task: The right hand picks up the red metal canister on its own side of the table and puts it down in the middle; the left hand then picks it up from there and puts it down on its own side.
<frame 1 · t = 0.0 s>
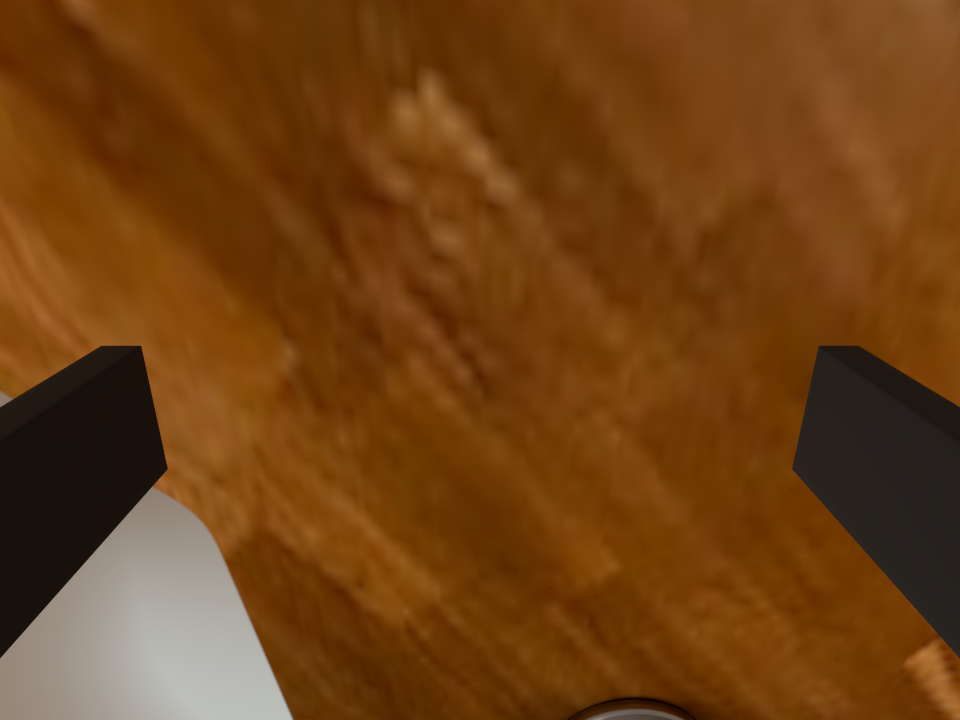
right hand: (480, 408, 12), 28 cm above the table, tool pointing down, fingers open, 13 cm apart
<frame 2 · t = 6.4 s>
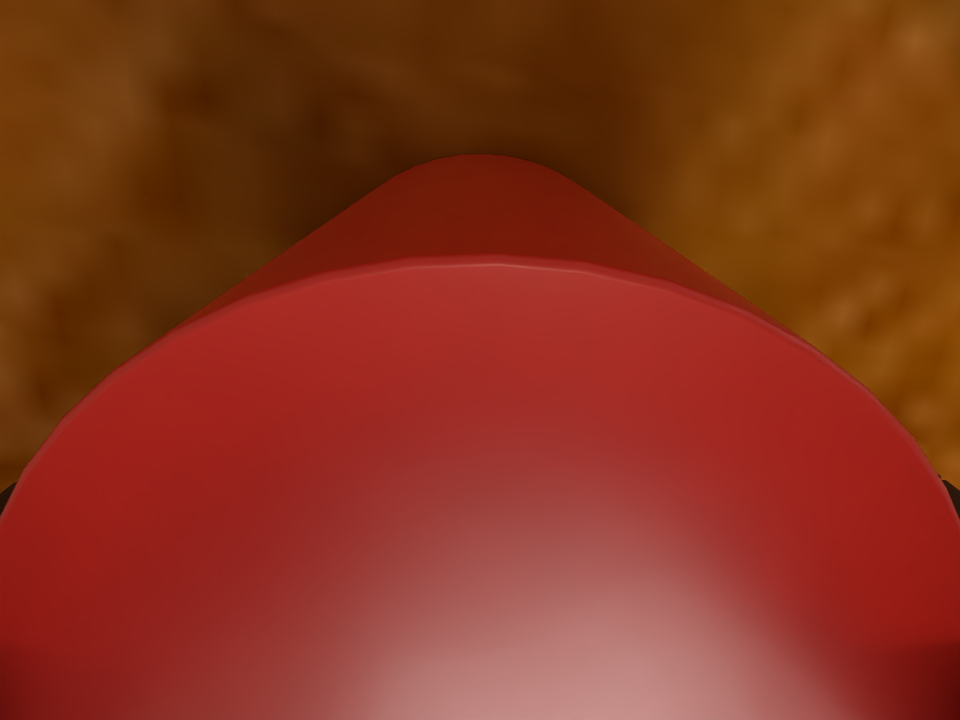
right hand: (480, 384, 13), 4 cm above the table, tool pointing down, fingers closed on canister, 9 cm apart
canister: (479, 328, 17), on the table, touching right hand
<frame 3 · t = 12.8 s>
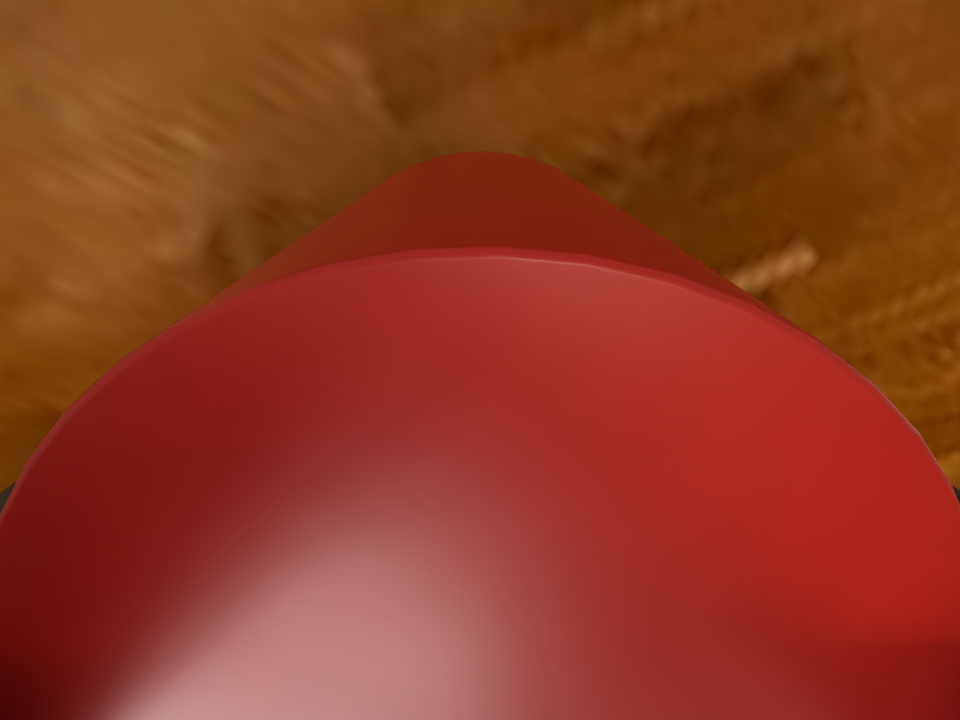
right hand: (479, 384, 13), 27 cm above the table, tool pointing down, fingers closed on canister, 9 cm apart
canister: (480, 326, 17), point 23 cm above the table, touching right hand
when the right hand's fingers open (6 cm above the table, at t = 19.4 s): canister drops 2 cm, on the table.
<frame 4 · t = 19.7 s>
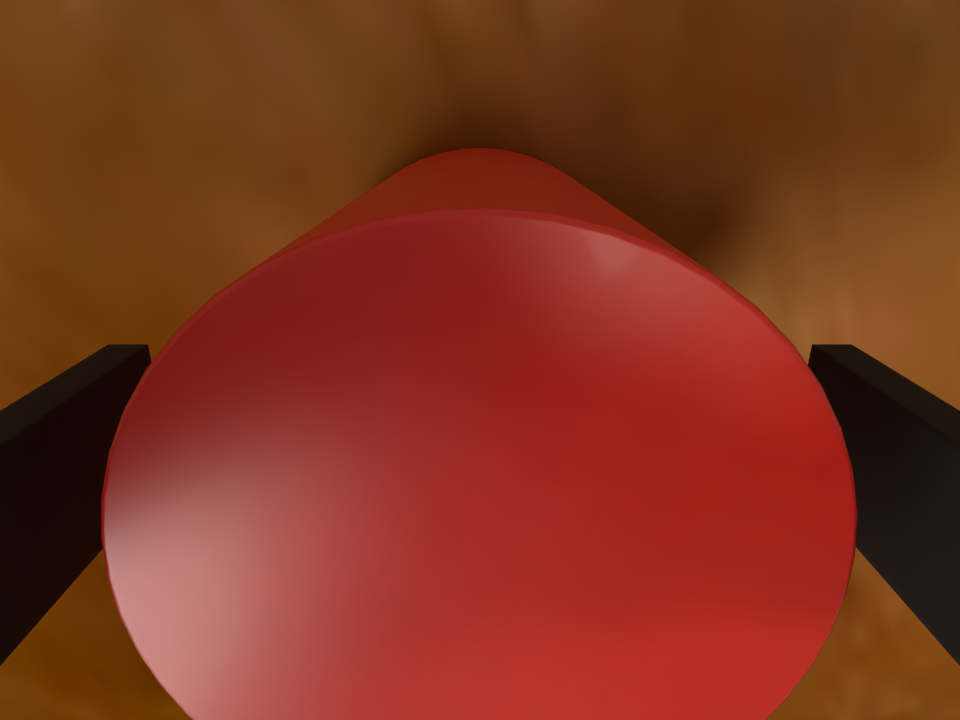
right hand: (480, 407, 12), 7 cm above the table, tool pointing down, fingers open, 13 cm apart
canister: (479, 306, 19), on the table
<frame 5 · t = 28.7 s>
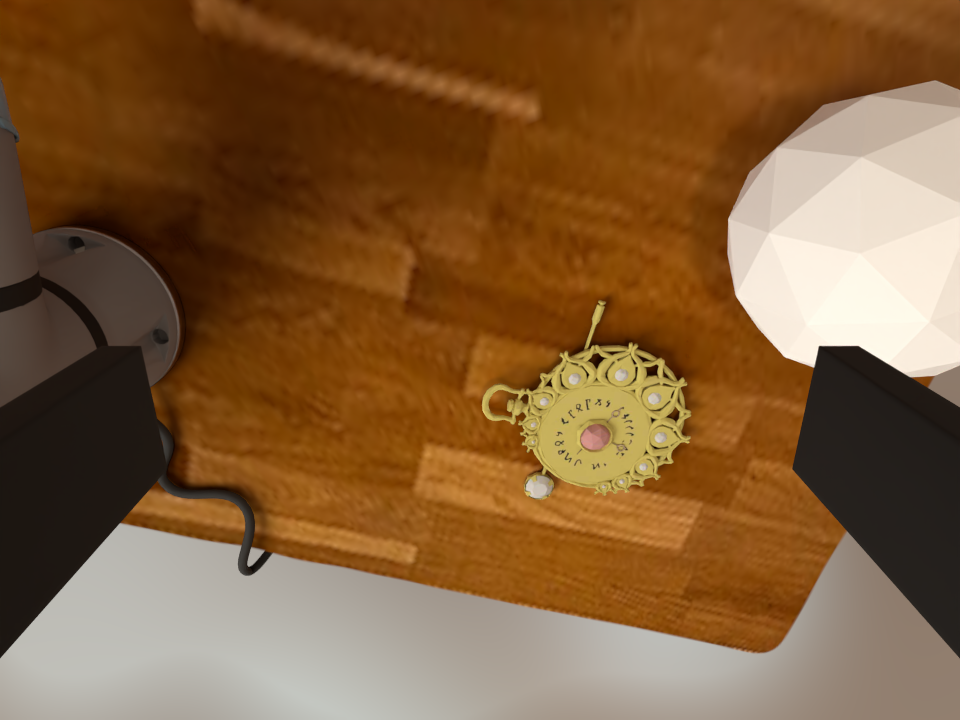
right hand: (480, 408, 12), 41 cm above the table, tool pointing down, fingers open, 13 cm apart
sphere: (809, 218, 51), on the table
decorative object: (588, 408, 57), on the table
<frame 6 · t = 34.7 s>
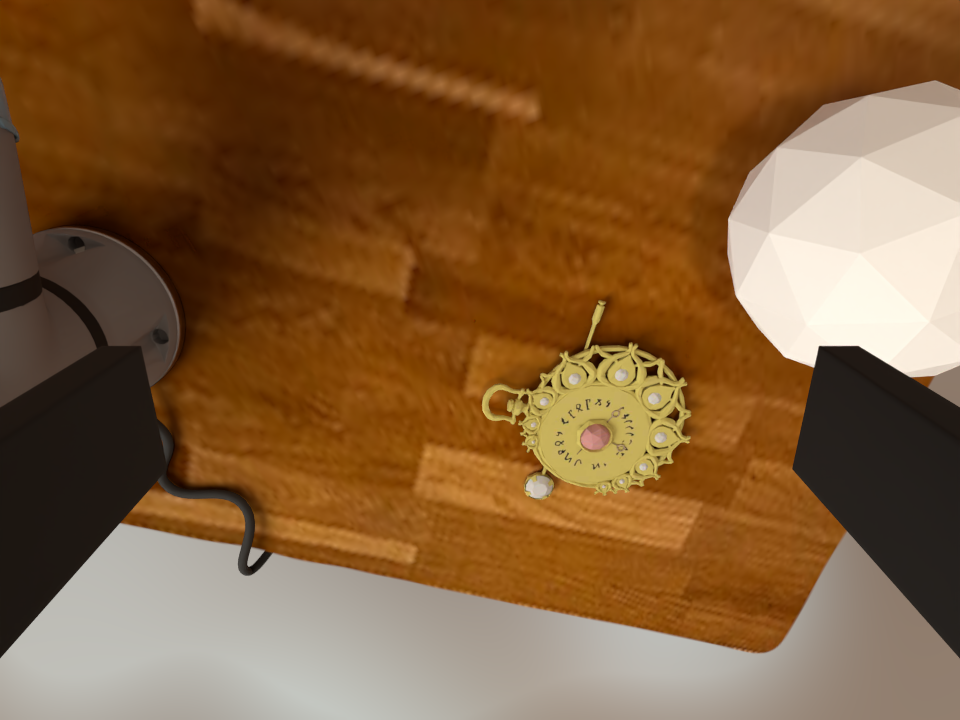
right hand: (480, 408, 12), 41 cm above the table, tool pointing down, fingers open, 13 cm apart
sphere: (809, 218, 51), on the table
decorative object: (588, 408, 57), on the table
when the left hand's fingers open (6 cm above the table, at t = 41.0 s): canister drops 2 cm, on the table.
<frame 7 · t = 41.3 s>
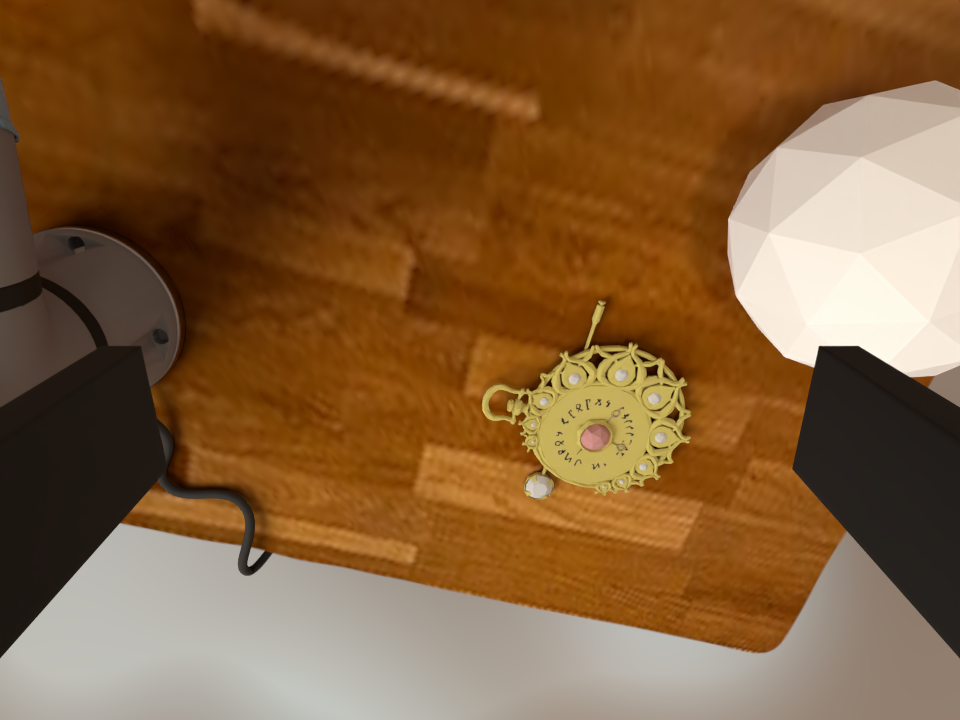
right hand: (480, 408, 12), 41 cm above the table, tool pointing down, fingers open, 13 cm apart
sphere: (809, 218, 51), on the table
decorative object: (588, 408, 57), on the table
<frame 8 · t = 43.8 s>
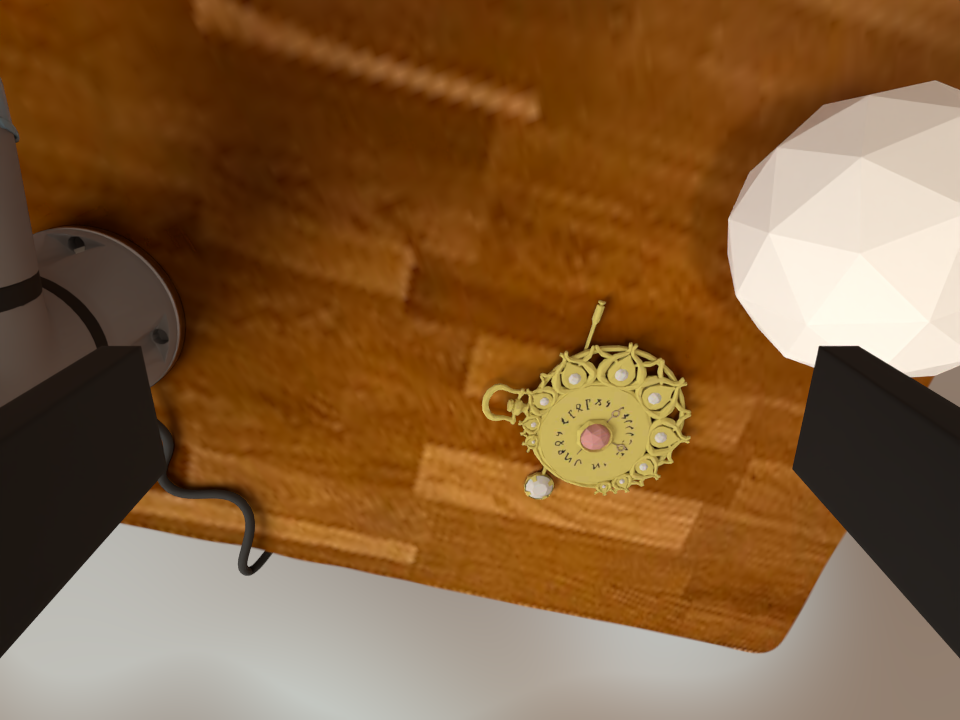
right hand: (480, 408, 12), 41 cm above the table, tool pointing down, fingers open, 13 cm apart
sphere: (809, 218, 51), on the table
decorative object: (588, 408, 57), on the table
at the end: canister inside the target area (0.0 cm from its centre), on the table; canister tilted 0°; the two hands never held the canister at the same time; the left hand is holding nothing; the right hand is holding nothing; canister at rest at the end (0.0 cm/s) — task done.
